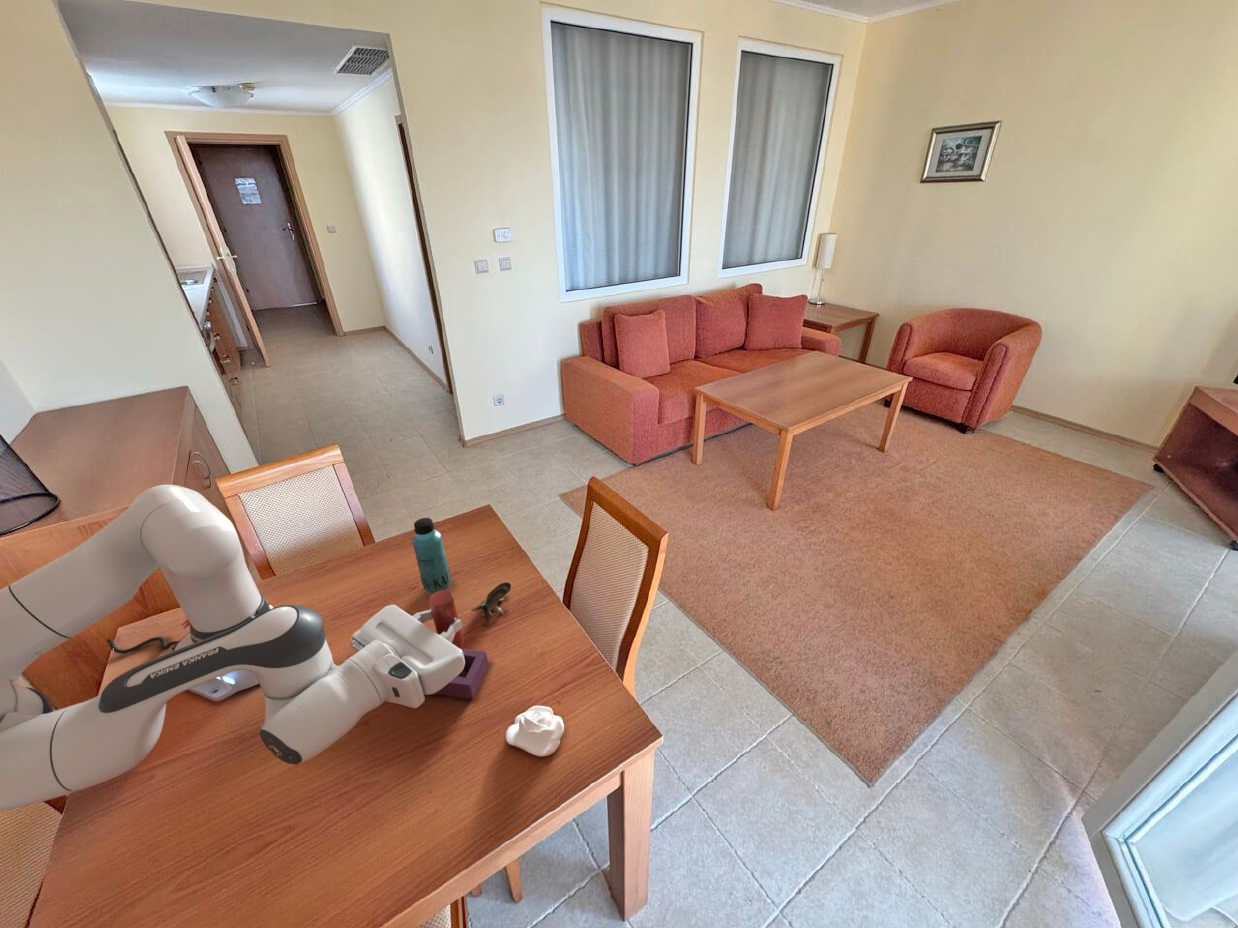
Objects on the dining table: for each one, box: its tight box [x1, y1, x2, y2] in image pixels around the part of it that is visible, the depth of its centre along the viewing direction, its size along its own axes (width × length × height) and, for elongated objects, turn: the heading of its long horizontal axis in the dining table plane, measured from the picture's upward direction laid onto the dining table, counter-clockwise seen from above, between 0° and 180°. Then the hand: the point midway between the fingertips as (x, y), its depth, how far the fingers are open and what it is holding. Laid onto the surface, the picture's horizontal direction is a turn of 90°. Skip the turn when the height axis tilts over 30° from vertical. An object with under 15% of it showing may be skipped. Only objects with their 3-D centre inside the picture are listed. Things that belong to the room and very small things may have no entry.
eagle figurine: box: [470, 581, 512, 626], centre depth 112 cm, size 8×7×9 cm
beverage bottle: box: [411, 517, 452, 595], centre depth 115 cm, size 6×7×20 cm
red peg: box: [428, 589, 464, 649], centre depth 89 cm, size 4×4×12 cm
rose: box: [505, 705, 565, 757], centre depth 86 cm, size 10×4×10 cm
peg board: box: [432, 648, 489, 700], centre depth 97 cm, size 20×8×4 cm, turn 81°
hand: (449, 615), depth 90 cm, fingers closed on red peg, 4 cm apart
